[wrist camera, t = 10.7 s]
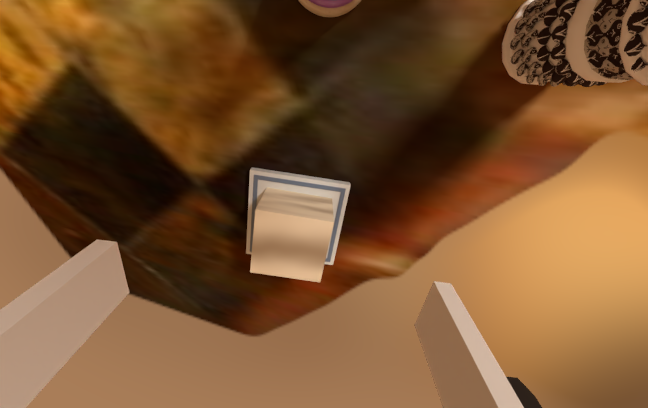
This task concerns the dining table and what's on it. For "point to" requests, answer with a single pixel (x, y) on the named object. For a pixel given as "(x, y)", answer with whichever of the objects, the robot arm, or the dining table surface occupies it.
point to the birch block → (291, 234)
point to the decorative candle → (577, 42)
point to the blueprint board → (300, 185)
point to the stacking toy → (329, 7)
